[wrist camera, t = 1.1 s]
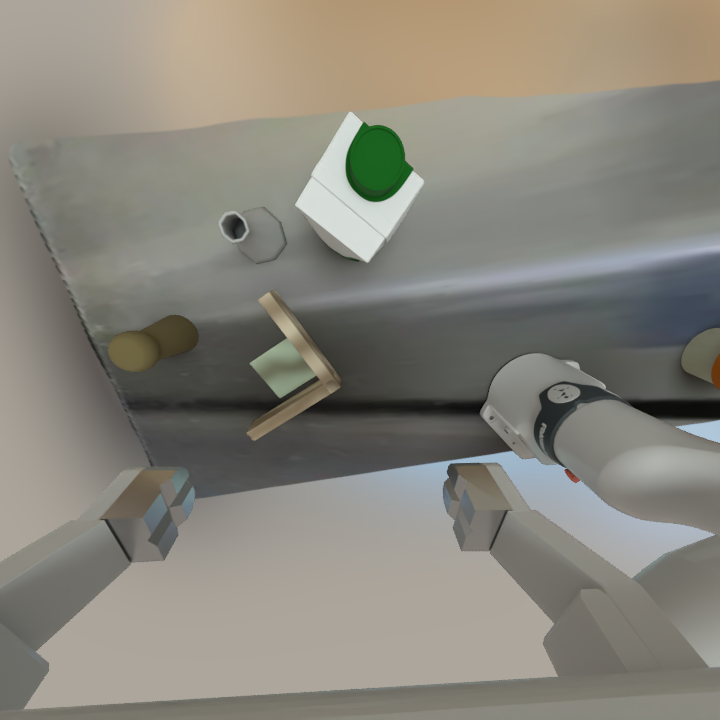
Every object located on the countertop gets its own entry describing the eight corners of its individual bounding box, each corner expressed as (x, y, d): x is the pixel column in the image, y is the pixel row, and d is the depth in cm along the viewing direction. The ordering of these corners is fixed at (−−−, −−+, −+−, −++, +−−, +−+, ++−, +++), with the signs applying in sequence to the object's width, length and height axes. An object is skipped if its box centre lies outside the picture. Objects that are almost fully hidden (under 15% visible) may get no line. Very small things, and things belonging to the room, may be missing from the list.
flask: (265, 197, 37) (238, 173, 27) (296, 246, 39) (280, 239, 30) (223, 226, 38) (183, 213, 28) (256, 272, 40) (229, 274, 30)
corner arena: (341, 378, 46) (340, 387, 43) (260, 429, 49) (254, 441, 46) (275, 289, 41) (268, 292, 37) (187, 352, 43) (174, 359, 40)
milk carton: (395, 218, 38) (444, 171, 20) (358, 271, 41) (370, 275, 22) (346, 174, 36) (347, 76, 17) (310, 233, 38) (276, 201, 20)
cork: (169, 355, 43) (115, 384, 33) (150, 320, 41) (86, 338, 31) (204, 346, 43) (160, 371, 33) (187, 310, 41) (134, 325, 31)
